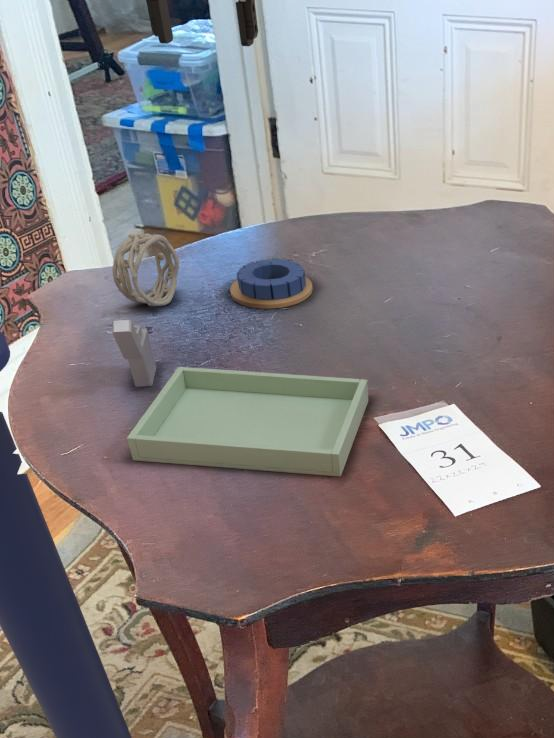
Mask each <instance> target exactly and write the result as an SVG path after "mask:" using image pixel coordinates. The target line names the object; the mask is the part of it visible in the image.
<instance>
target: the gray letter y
mask: <svg viewBox="0 0 554 738" xmlns="http://www.w3.org/2000/svg"><path fill="white" fill-rule="evenodd" d="M111 329H112V330H111V334H112V336H113V338H114V341H115V342H116V344H117V347H118V349H119V351H120V353H121V355H122V358H123V359H125V360H127V361H128V364H129V370H130V372H131V376H132V380H133V384H134V387H136V388H142V387H143V388H145V387H152V386H153V384H154V380H155V375H156V371H157V363H156V360H155V356H154V355H155V354H154V351H153V348H152V343H151V339H150V335H149V332H148V331H149V330H148V329H147V328H142V327H141V325H136V324H135V325H134V324H133V322H132V320H130V319H122V320H121V319H119V320H113V321H112V328H111Z"/></svg>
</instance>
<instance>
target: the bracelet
mask: <svg viewBox="0 0 554 738" xmlns="http://www.w3.org/2000/svg"><path fill="white" fill-rule="evenodd" d="M150 246H151V248H152V251H153V254H154V258H155V263H156V270H157V279H156V281H155V282H154V284H153V287H152V290H151V292H147V294H146V293H144V292H143V290H142V288H141V287H140V285H139V283H138V277H139V276H138V272H139V268H140V265H141V262H142V260H143V257H144V254H145V252H146V250H147V249H148V248H149V247H150ZM158 251H159V252H158ZM127 253H128V257H127V258H126V259H125V258H124V257H125V256H124V255H125V254H127ZM135 253H136V254H137V257H136V260H135ZM134 260H135V261H134ZM164 260H165V263H164V265H163V267H162V266H161V262H162V261H164ZM173 261H174V262H173ZM112 262H113V263H112V277H113V281H114V284H115V286H116V288H117V289H118V291H119V292H120V293H121V294H122V296H124V297H125V298H126V299H127V300H130V301H132V302H135V303H140V304H147V306H150V307H161V306H166V305H168V304H170V303H171V302H172V299H173V298H174V295H175V293H176V289H177V282H178V279H177V278H178V274H179V270H180V259H179V257H178V254H177V251H176V249H174V247H173V246H172V244H171V243H170V242H169V239H167V238H166V237H165V236H164V235H162V234H157V233H152V234H151V233H141V232H140V233H129V234H128V238H125V240H124V241H122V242H121V243H120V244H119V246H118V247H117V249H116V252H115V256H114V259H113V261H112ZM128 269H129V270H128ZM129 271H130V273H131V276H132V277H131V278H130V274H129ZM165 273H166V274H165ZM131 280H132V282H131ZM169 280H170V282H169ZM168 282H169V286H168ZM133 287H134V288H135V289H134V288H133Z"/></svg>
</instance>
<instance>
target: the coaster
mask: <svg viewBox="0 0 554 738" xmlns="http://www.w3.org/2000/svg"><path fill="white" fill-rule="evenodd" d="M305 279H306V286H305V288H304V290H303V291H301V292H300V293H298V294H296V295H294V296H292V297H290V296H288V298H284V299H278V300H274V299H273V298H272V300H259V299H257V298H255V299H253V298H250V297H248V296H245V295H244V294H242V292H241V291H240V289H239V286H238V279H236V280H234V282H233V283H232V284H231V285H230V289H229V291H230V296H231V298H232V300H233V301H234V302H236V303H237V304H239V305H242V306H244V307H248V308H253V309H261V310H270V309H271V310H273V309H283V308H286V307H292V306H295V305H297V304H300V303H302V302H304V301H306V300H307V299H308V298H309V297H311V295H312V294H313V290H314V288H313V282H312V281H311V279H309V277H307V276H305ZM268 280H272V279H268Z"/></svg>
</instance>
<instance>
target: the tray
mask: <svg viewBox="0 0 554 738" xmlns="http://www.w3.org/2000/svg"><path fill="white" fill-rule="evenodd" d="M368 386H369V385H368V379H363V378H362V379H360V378H347V377H334V376H321V375H320V376H319V375H304V374H291V373H276V372H275V373H274V372H261V371H247V370H234V369H233V370H232V369H219V368H218V369H217V368H202V367H189V366H178V367H177V368H176V369H175V371H174V372H173V374H172V375H171V376H170V378H169V379H168V380H167V382H166V383H165V384H164V386H163V387H162V389H161V390H160V391H159V393H158V394H157V396H156V397H155V398H154V400H153V401H152V403H151V404H150V405H149V406H148V408H147V409H146V411H145V412H144V413H143V415H142V416H141V418H140V419H139V421H138V422H137V423H136V425H135V426H134V427H133V429H132V430H131V432H130V433H129V434H128V435H127V437H126V442H127V445H128V447H129V451H130V455H131V458H132V461H134V462H135V461H137V462H148V463H149V462H151V463H161V464H162V463H163V464H175V465H187V466H199V467H200V466H201V467H203V466H204V467H211V468H214V467H215V468H226V469H239V470H249V471H250V470H251V471H264V472H265V471H266V472H277V473H291V474H301V475H303V474H304V475H315V476H327V477H328V476H330V477H342V474H343V471H344V469H345V467H346V463H347V462H348V461H347V460H348V459H349V455H350V452H351V450H352V447H353V444H354V441H355V439H356V436H357V433H358V431H359V428H360V425H361V423H362V419H363V418H364V414H365V412H366V409H367V406H368V404H369V387H368Z"/></svg>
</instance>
